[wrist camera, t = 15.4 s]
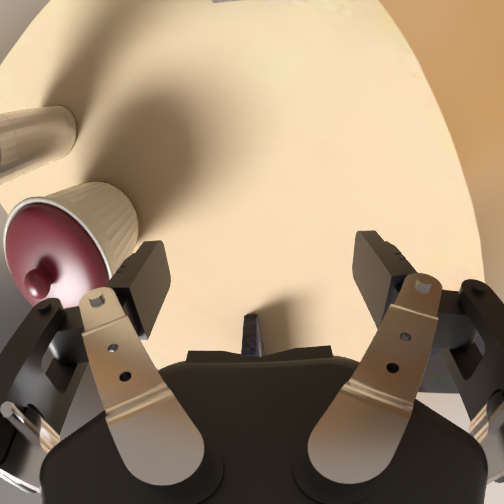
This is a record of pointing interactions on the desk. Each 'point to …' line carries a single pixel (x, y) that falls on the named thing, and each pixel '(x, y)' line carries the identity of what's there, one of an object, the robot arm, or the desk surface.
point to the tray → (221, 1)
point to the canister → (69, 241)
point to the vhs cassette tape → (252, 337)
